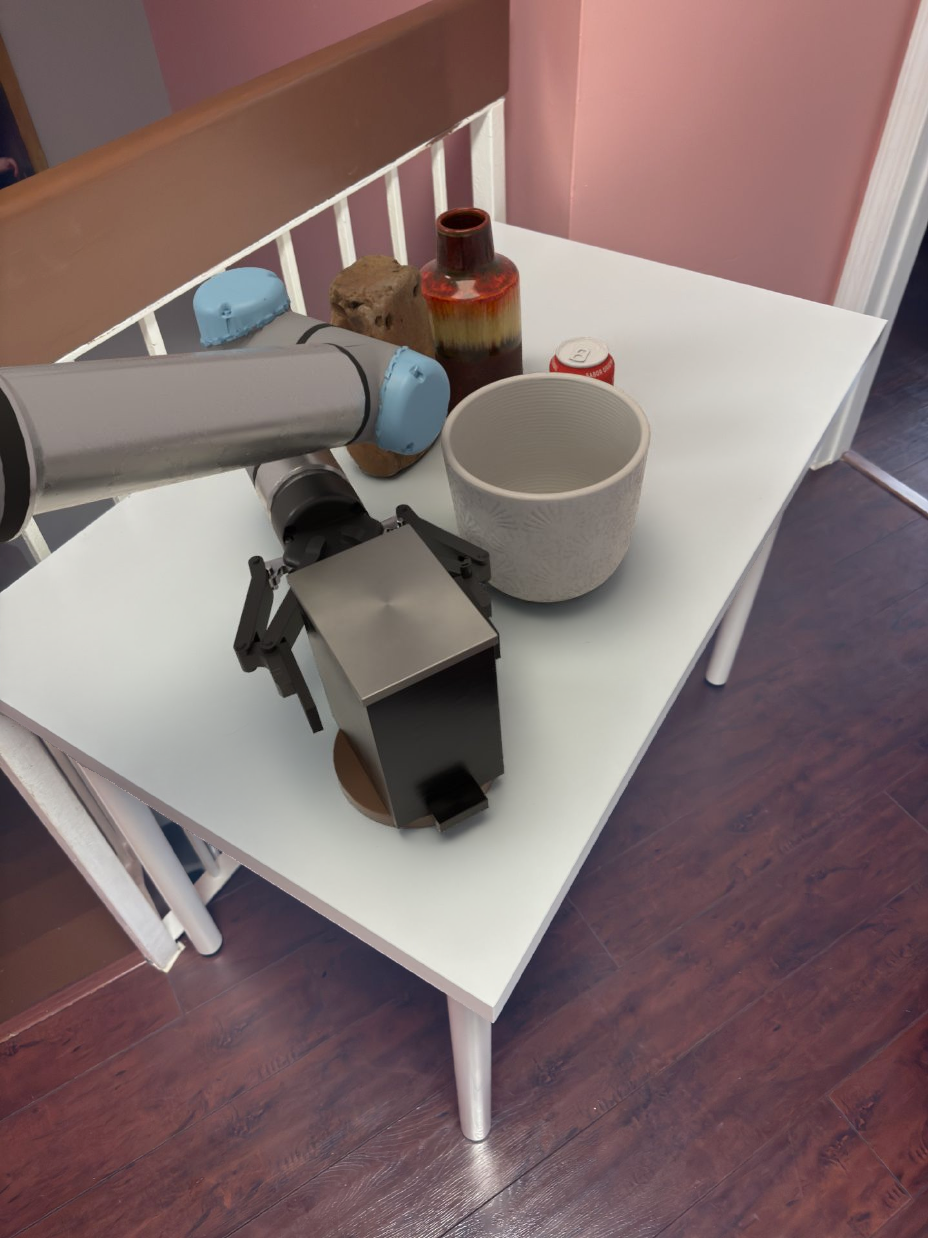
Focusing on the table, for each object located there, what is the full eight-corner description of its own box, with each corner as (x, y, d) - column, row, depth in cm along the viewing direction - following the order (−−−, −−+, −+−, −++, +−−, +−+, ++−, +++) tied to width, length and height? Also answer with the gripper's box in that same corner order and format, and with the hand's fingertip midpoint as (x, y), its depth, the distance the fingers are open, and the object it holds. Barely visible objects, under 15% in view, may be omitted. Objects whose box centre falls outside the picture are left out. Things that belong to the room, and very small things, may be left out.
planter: (661, 526, 87) (676, 391, 76) (602, 653, 77) (610, 519, 66) (499, 488, 93) (490, 356, 82) (425, 601, 83) (404, 470, 72)
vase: (434, 369, 108) (415, 196, 93) (525, 367, 107) (520, 191, 92) (424, 423, 101) (401, 246, 86) (521, 422, 100) (515, 242, 85)
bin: (407, 853, 65) (374, 721, 53) (328, 714, 73) (285, 575, 61) (521, 792, 67) (513, 653, 55) (431, 665, 76) (408, 522, 64)
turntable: (370, 856, 66) (367, 846, 65) (314, 726, 75) (310, 716, 73) (529, 785, 69) (528, 774, 68) (458, 668, 78) (456, 657, 76)
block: (393, 415, 103) (366, 243, 88) (450, 431, 100) (432, 256, 85) (339, 471, 97) (299, 296, 82) (398, 490, 94) (369, 313, 79)
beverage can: (564, 428, 99) (564, 328, 90) (619, 441, 97) (625, 340, 88) (540, 461, 95) (538, 361, 86) (596, 476, 93) (600, 374, 84)
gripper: (451, 492, 82) (565, 652, 69) (181, 588, 77) (248, 783, 63) (443, 424, 77) (565, 583, 63) (152, 522, 71) (218, 719, 58)
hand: (407, 683), depth 63 cm, fingers open, 13 cm apart
